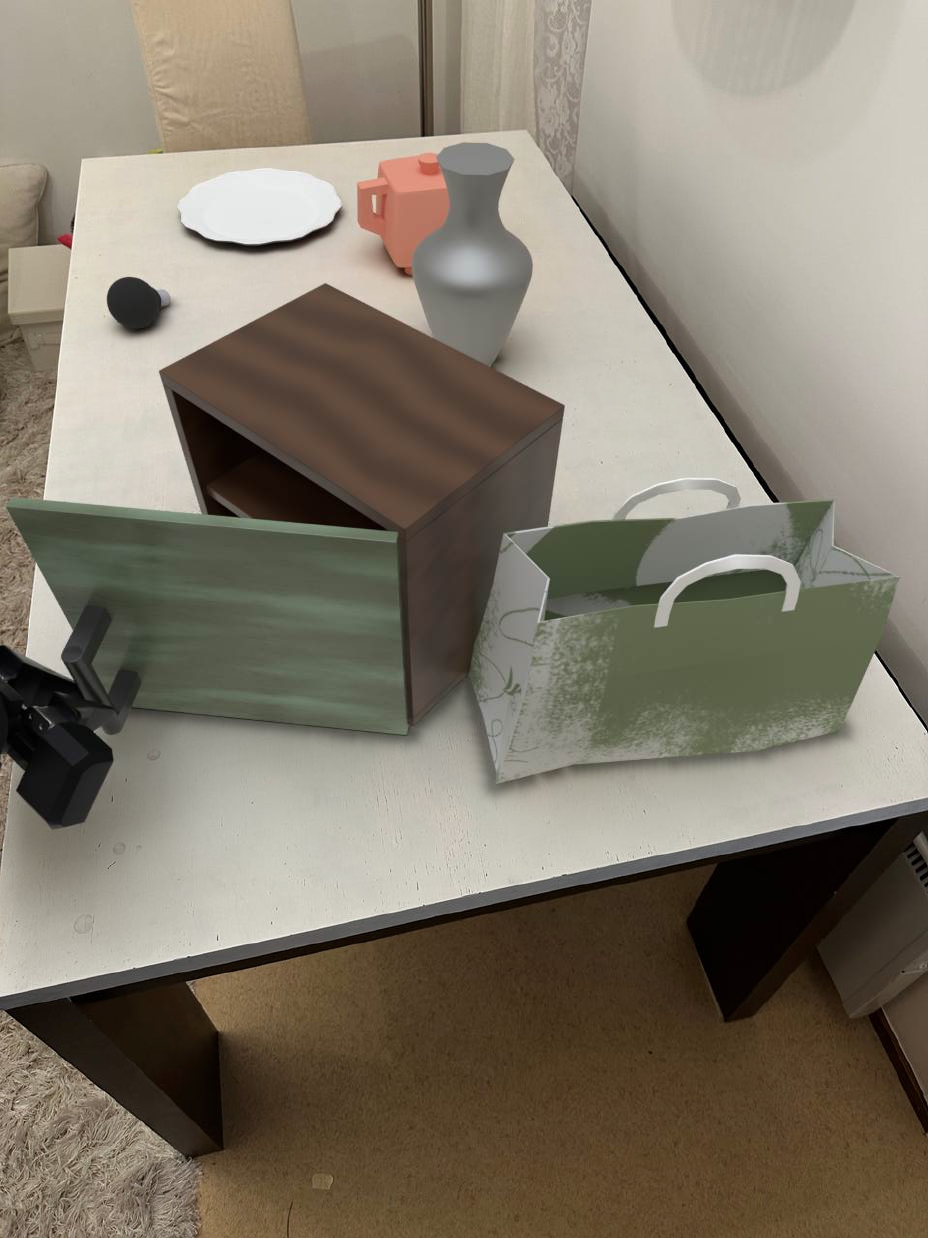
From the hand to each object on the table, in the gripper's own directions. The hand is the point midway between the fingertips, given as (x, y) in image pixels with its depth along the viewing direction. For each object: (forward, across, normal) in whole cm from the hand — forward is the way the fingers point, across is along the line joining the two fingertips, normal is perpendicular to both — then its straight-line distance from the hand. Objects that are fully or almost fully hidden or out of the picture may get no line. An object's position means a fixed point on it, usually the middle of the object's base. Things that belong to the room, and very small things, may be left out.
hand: (101, 705), depth 66 cm
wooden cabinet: (+25, +4, +14) cm, 28 cm away
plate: (+59, -64, +45) cm, 98 cm away
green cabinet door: (+11, +7, 0) cm, 13 cm away
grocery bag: (+29, +31, +18) cm, 47 cm away
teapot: (+64, -36, +51) cm, 90 cm away
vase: (+52, -15, +39) cm, 67 cm away
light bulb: (+37, -54, +23) cm, 69 cm away
